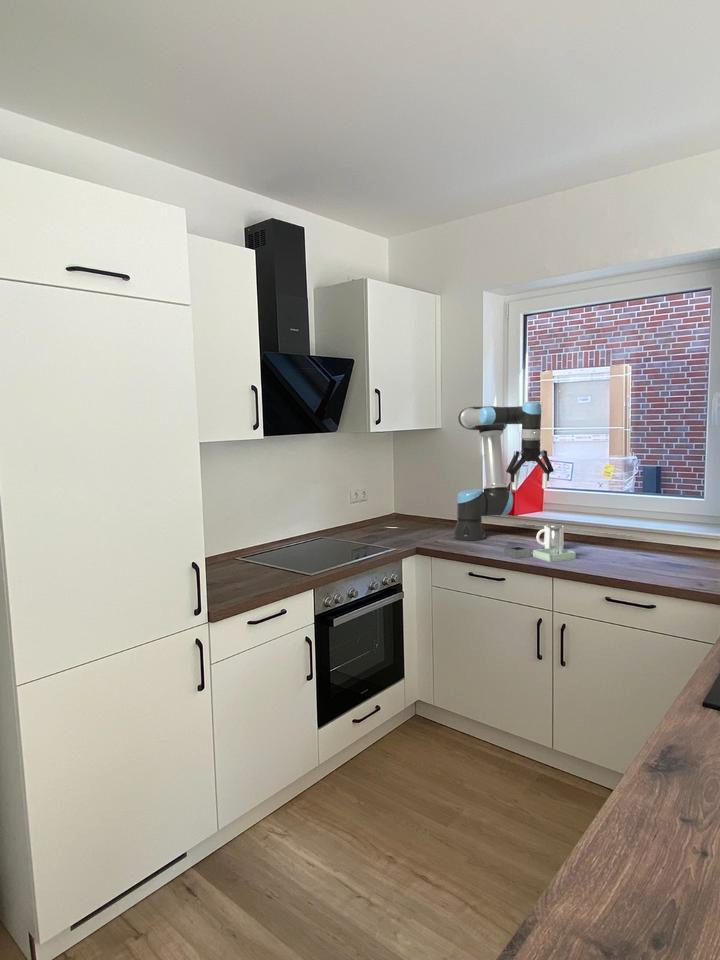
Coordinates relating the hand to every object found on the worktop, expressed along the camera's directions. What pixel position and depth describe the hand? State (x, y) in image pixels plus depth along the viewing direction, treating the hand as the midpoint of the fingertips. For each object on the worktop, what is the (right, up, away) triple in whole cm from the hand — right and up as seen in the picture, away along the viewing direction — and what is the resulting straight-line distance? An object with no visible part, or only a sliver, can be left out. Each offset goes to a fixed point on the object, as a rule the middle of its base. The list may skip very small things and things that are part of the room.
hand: (529, 489), depth 263 cm
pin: (+9, -28, -5) cm, 30 cm away
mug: (+12, -27, +12) cm, 32 cm away
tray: (+9, -28, -5) cm, 30 cm away
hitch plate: (-5, -28, 0) cm, 29 cm away
